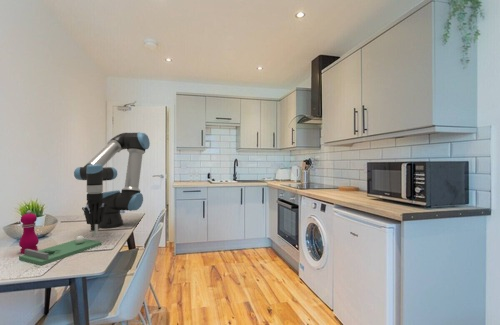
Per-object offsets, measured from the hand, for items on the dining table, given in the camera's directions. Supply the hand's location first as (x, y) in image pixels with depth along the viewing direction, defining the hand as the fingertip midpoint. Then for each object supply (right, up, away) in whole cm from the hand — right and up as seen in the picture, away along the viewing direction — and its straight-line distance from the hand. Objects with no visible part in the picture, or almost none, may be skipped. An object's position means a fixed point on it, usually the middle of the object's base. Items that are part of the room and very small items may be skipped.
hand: (94, 236), depth 140 cm
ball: (-3, 0, -8) cm, 8 cm away
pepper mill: (-23, -3, -15) cm, 28 cm away
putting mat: (-6, -3, -15) cm, 17 cm away
